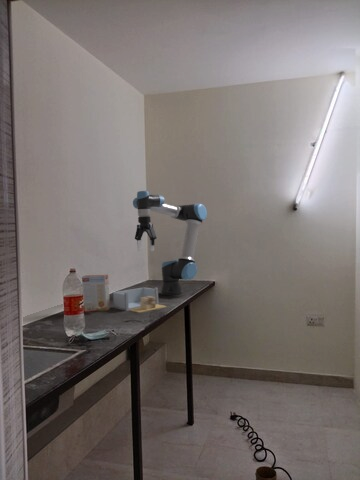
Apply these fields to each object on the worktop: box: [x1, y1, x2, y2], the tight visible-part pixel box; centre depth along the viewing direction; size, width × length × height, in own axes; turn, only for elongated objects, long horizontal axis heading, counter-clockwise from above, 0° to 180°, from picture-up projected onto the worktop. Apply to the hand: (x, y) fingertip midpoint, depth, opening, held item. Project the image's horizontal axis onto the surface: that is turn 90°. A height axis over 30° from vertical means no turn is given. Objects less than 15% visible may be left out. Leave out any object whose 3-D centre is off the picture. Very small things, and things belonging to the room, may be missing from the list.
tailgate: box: [129, 304, 168, 314], centre depth 220 cm, size 19×1×10 cm
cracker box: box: [81, 274, 111, 313], centre depth 225 cm, size 14×6×21 cm, turn 79°
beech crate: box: [140, 296, 156, 309], centre depth 220 cm, size 6×7×6 cm
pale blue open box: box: [112, 287, 160, 312], centre depth 230 cm, size 22×15×11 cm
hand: (146, 250), depth 240 cm, fingers open, 13 cm apart
